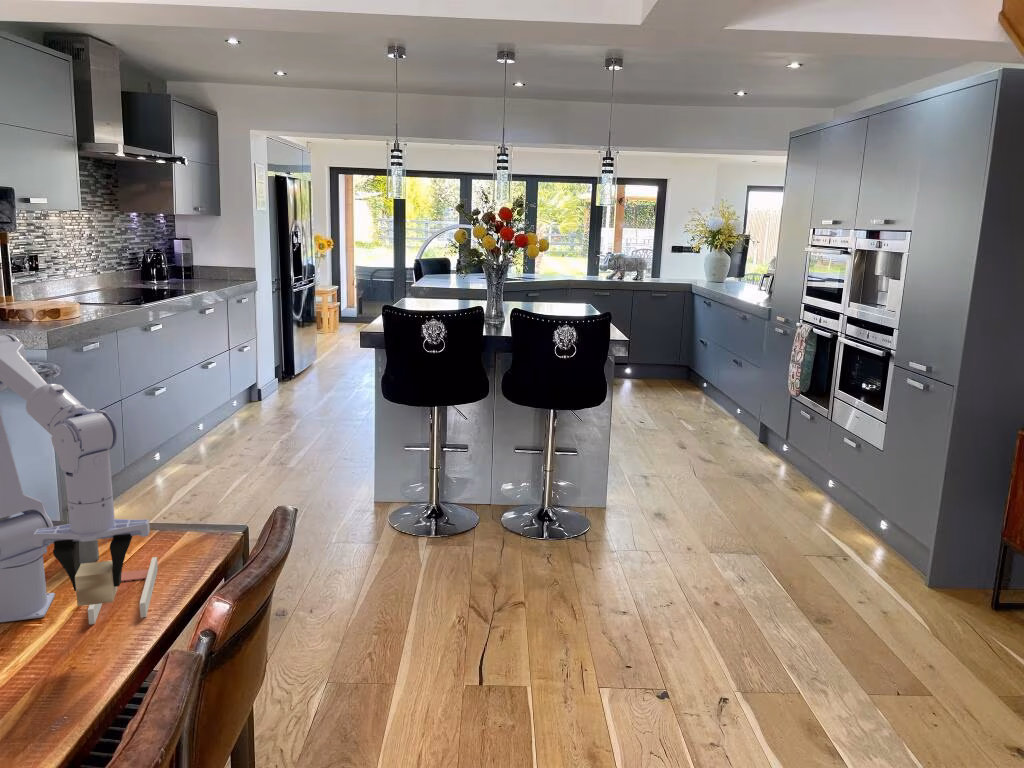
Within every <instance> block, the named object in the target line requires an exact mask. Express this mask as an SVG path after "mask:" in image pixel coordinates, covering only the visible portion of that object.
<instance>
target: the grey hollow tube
mask: <svg viewBox="0 0 1024 768" xmlns="http://www.w3.org/2000/svg"><path fill="white" fill-rule="evenodd" d="M65 510H66V511H65V513H66V524H69V514H68V507H67V508H66V509H65ZM98 540H99V539H96V540H94V541H86V542H81V541H79V559H80V565H81V564H83V563H92V562H98V561H99V559H100V552H99V542H98Z"/></svg>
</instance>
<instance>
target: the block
mask: <svg viewBox="0 0 1024 768" xmlns="http://www.w3.org/2000/svg"><path fill="white" fill-rule="evenodd" d="M75 584H76V591H75V593H76V602H77V603H76V605H77V607H82V606H83V607H84V606H89V605H93V604H101V603H102V604H108V603H114V600H115V597H116V594H117V592H118V588H119V586H116V587H114V583H113V563H112V559H111V560H103V561H95V562H92V563H83V564H81V565H80V567H79V569H78V571H77V573H76V575H75Z"/></svg>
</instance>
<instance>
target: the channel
mask: <svg viewBox="0 0 1024 768" xmlns="http://www.w3.org/2000/svg"><path fill="white" fill-rule="evenodd" d="M158 567H159V566H158V556H153V557H151V560H150V563H149V567H148V569H149V571H148V574H147V578H146V579H145V583H144V586H143V589H142V592H141V596H140V601H139V612H140V613H139V614H140V618H141V619H143V617H145V618H147V615H148V611H149V608H150V604H151V599H152V597H153V596H152V595H153V591H154V587H155V584H156V578H157V576H158V571H159V568H158ZM102 605H103V603H101V604H93V605H88V608H87V617H88V619H87V620H88V625H95V624H96V621H97V619H98V616H99V613H100V611H101V609H102Z"/></svg>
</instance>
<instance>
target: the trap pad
mask: <svg viewBox="0 0 1024 768" xmlns="http://www.w3.org/2000/svg"><path fill="white" fill-rule="evenodd" d="M148 571H149V568H148V569H139V570H130V571H122V573H121V583H124V581H126V582H133V581H132V580H135V581H140V580H141V581H142V580H143V579H144V580H146V578H147V574H148Z"/></svg>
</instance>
